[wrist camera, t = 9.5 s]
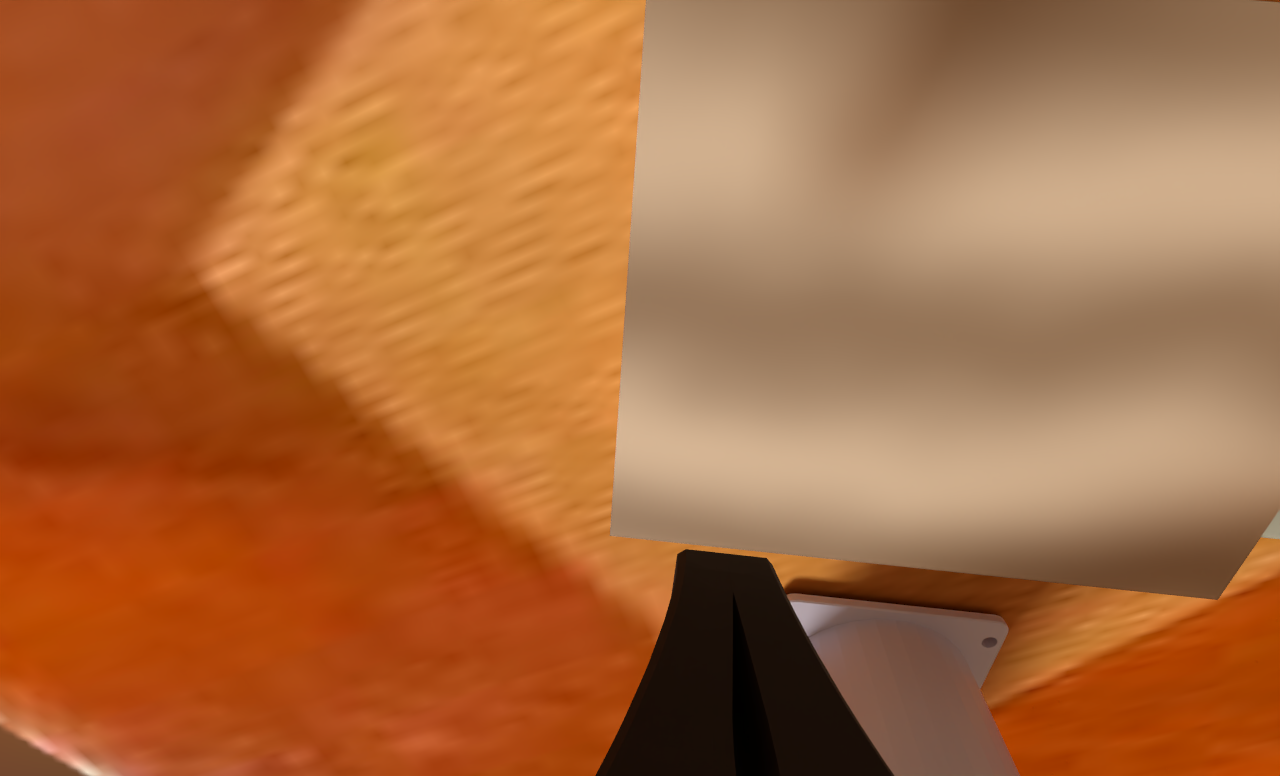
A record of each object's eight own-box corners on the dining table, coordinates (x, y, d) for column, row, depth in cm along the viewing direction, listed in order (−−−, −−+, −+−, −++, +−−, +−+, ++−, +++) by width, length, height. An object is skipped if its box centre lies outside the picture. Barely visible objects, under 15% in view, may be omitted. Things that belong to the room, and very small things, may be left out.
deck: (1123, 504, 20) (1217, 599, 16) (624, 453, 20) (609, 535, 17) (1375, 38, 14) (1611, 28, 10) (659, -20, 14) (649, -48, 11)
